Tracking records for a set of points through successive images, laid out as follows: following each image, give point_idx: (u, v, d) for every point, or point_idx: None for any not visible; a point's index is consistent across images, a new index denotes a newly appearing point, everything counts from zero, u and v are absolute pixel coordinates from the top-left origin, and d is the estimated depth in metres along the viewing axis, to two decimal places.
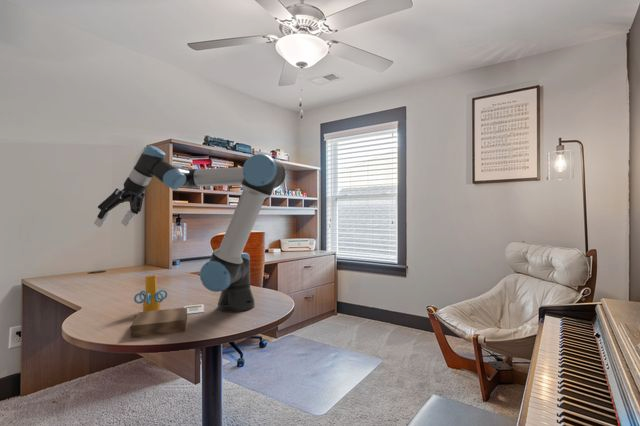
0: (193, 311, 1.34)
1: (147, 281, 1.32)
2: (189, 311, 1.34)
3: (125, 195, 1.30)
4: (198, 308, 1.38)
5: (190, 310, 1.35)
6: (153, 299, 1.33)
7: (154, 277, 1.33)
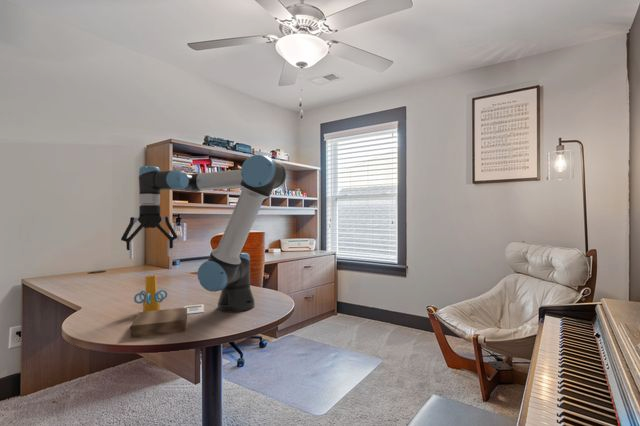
0: (193, 311, 1.34)
1: (147, 281, 1.32)
2: (189, 311, 1.34)
3: (140, 220, 1.32)
4: (198, 308, 1.38)
5: (190, 310, 1.35)
6: (153, 299, 1.33)
7: (154, 277, 1.33)
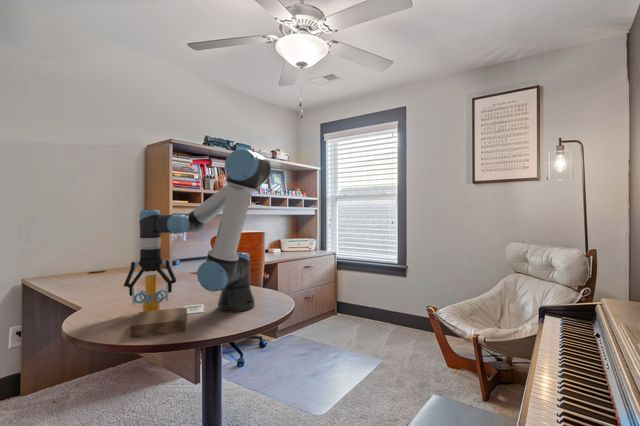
0: (193, 311, 1.34)
1: (147, 281, 1.32)
2: (189, 311, 1.34)
3: (141, 264, 1.32)
4: (198, 308, 1.38)
5: (190, 310, 1.35)
6: (153, 299, 1.33)
7: (154, 277, 1.33)
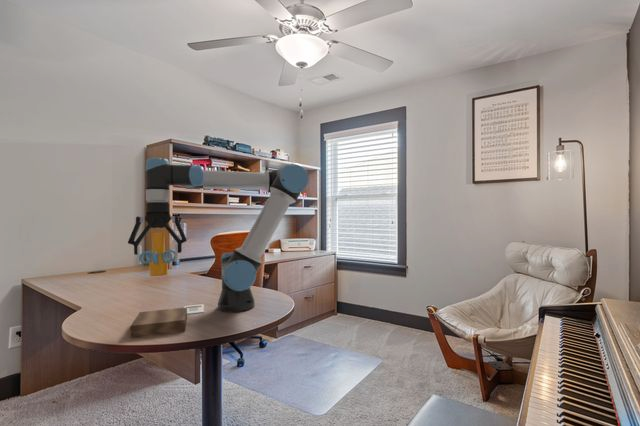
0: (193, 311, 1.34)
1: (154, 238, 1.17)
2: (189, 311, 1.34)
3: (147, 220, 1.17)
4: (198, 308, 1.38)
5: (190, 310, 1.35)
6: (160, 259, 1.17)
7: (162, 234, 1.18)
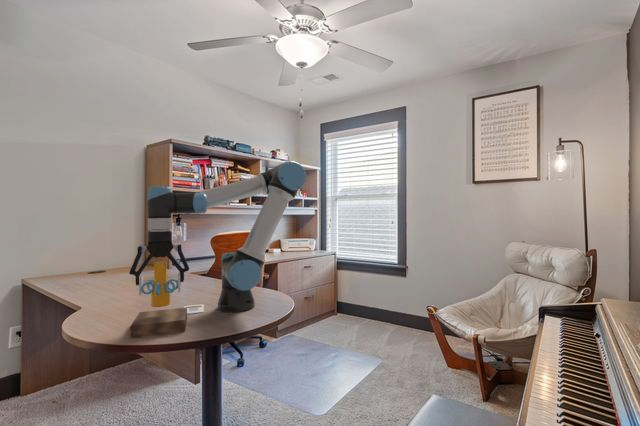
0: (193, 311, 1.34)
1: (156, 268, 1.14)
2: (189, 311, 1.34)
3: (149, 249, 1.14)
4: (198, 308, 1.38)
5: (190, 310, 1.35)
6: (163, 289, 1.15)
7: (164, 264, 1.16)
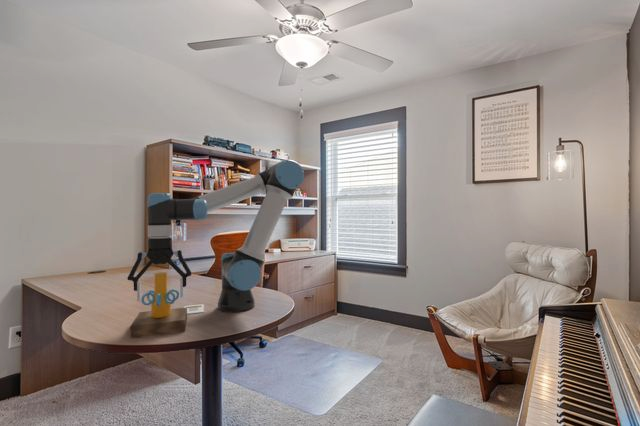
0: (193, 311, 1.34)
1: (157, 279, 1.14)
2: (189, 311, 1.34)
3: (149, 256, 1.14)
4: (198, 308, 1.38)
5: (190, 310, 1.35)
6: (163, 300, 1.15)
7: (165, 275, 1.16)
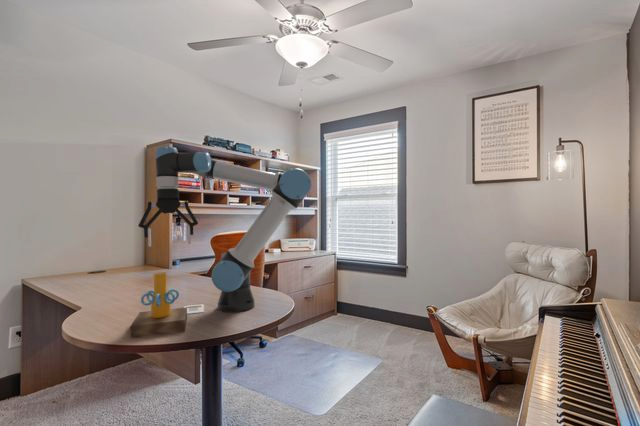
0: (193, 311, 1.34)
1: (156, 279, 1.14)
2: (189, 311, 1.34)
3: (158, 205, 1.23)
4: (198, 308, 1.38)
5: (190, 310, 1.35)
6: (163, 300, 1.15)
7: (164, 275, 1.16)
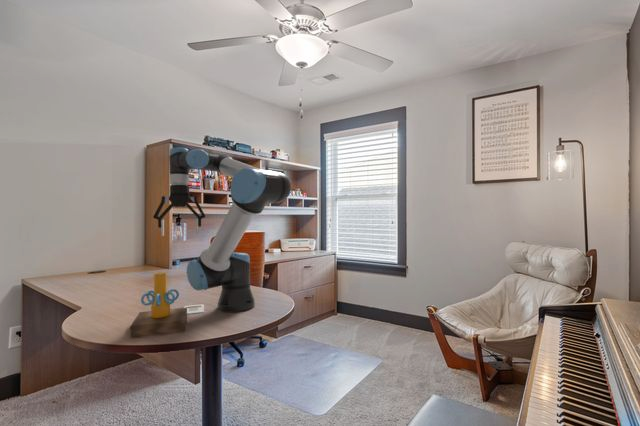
0: (193, 311, 1.34)
1: (156, 279, 1.14)
2: (189, 311, 1.34)
3: (171, 199, 1.39)
4: (198, 308, 1.38)
5: (190, 310, 1.35)
6: (163, 300, 1.15)
7: (164, 275, 1.16)
